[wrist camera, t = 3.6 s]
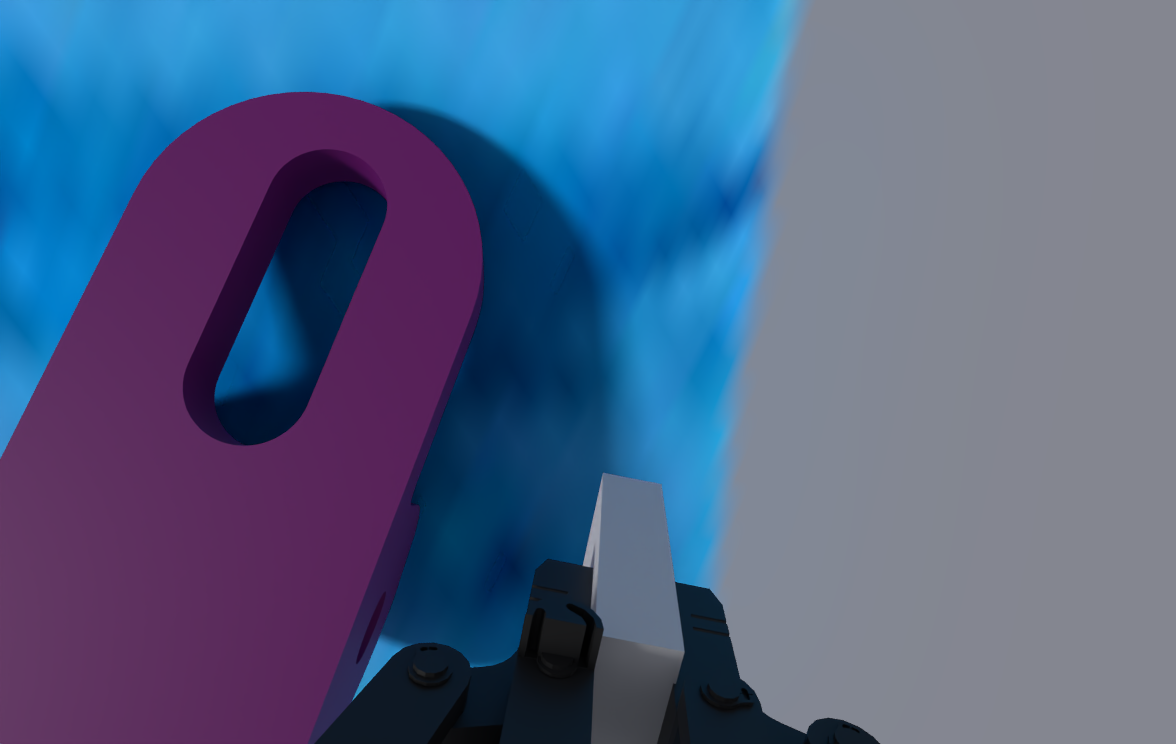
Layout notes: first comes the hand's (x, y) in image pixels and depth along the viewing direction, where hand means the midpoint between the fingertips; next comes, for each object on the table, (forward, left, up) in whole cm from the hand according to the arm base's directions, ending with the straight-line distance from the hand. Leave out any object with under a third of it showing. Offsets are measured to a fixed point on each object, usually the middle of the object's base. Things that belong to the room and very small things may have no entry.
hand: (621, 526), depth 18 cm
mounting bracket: (0, +10, -7) cm, 12 cm away
